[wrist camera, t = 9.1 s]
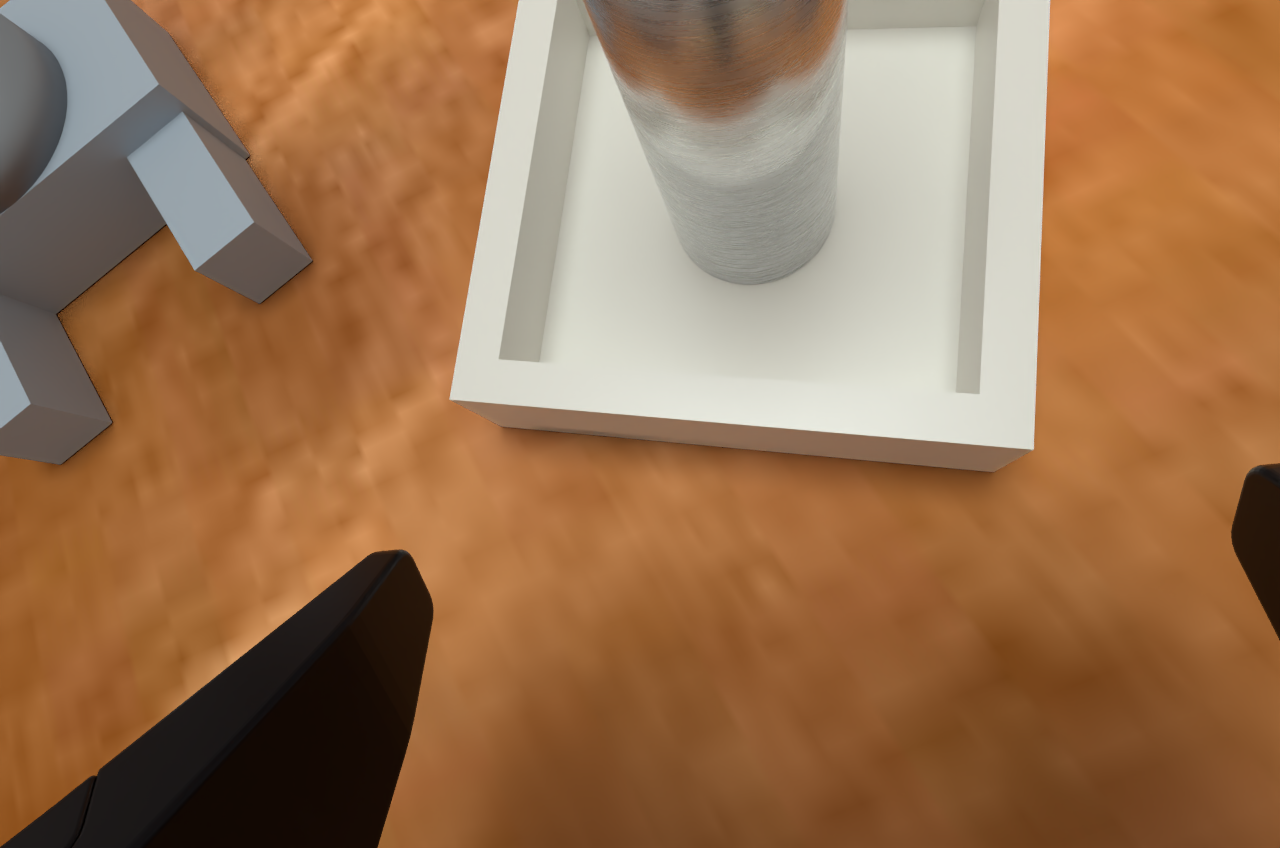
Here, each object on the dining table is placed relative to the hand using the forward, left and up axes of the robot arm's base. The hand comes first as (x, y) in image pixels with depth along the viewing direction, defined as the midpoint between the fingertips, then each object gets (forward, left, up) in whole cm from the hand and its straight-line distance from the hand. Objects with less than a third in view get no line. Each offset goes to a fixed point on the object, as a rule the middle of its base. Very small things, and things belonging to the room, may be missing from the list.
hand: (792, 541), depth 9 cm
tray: (+9, +2, -10) cm, 13 cm away
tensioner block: (+7, +21, -10) cm, 25 cm away
